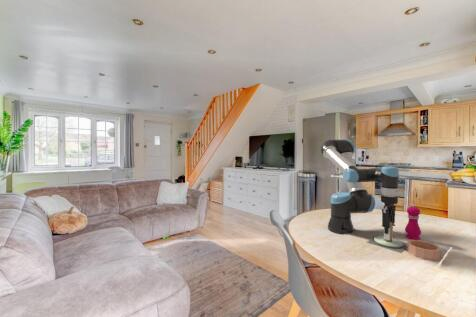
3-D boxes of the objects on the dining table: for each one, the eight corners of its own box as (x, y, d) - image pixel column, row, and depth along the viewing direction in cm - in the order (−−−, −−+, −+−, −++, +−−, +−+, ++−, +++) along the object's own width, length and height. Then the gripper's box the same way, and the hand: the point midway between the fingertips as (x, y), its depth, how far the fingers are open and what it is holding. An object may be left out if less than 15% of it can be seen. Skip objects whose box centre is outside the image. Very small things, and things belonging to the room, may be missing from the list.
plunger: (370, 241, 121) (370, 221, 121) (379, 235, 129) (379, 216, 129) (398, 250, 111) (398, 228, 110) (406, 242, 119) (407, 222, 118)
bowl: (404, 254, 108) (404, 244, 108) (411, 247, 116) (412, 238, 116) (436, 264, 99) (437, 253, 99) (442, 255, 106) (442, 245, 106)
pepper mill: (414, 242, 122) (415, 206, 122) (401, 237, 129) (402, 203, 128) (424, 240, 124) (425, 205, 123) (411, 235, 131) (411, 202, 130)
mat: (366, 243, 121) (366, 242, 121) (377, 236, 131) (377, 235, 131) (401, 254, 109) (401, 252, 109) (411, 245, 118) (411, 244, 118)
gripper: (392, 199, 111) (390, 244, 112) (402, 194, 121) (401, 236, 122) (375, 196, 117) (374, 240, 118) (387, 192, 127) (385, 232, 128)
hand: (388, 238), depth 120 cm, fingers closed on plunger, 3 cm apart
